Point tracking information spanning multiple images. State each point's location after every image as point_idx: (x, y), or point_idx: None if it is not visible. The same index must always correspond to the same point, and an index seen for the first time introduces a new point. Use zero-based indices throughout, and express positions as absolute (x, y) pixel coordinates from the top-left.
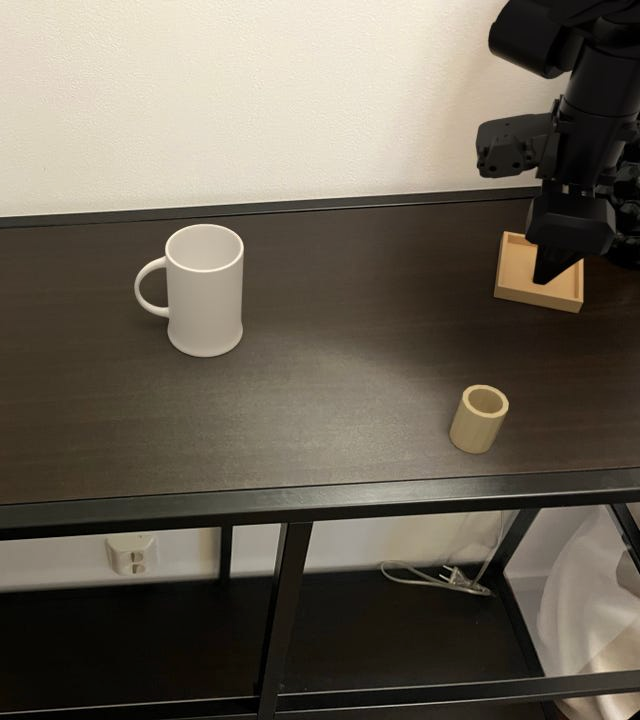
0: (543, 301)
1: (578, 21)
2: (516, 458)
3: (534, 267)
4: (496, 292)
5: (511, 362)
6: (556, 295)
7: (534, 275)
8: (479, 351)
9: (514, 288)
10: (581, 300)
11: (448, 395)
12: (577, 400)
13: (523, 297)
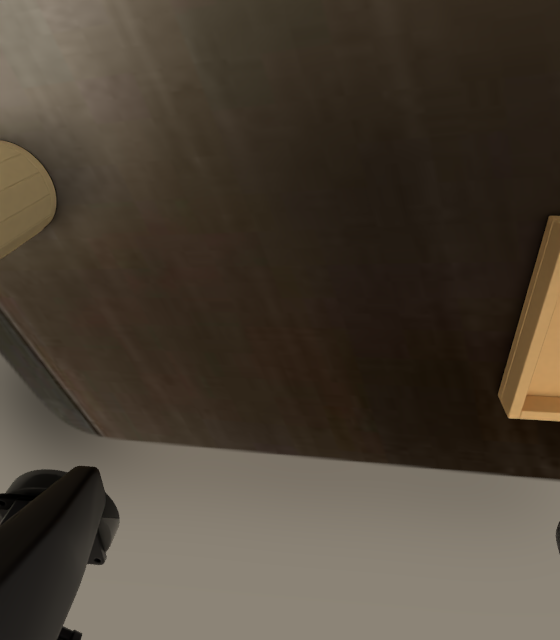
0: (521, 336)
1: None
2: (13, 279)
3: (43, 524)
4: (554, 224)
5: (288, 265)
6: (530, 370)
7: (26, 505)
8: (304, 190)
9: (556, 275)
10: (513, 416)
11: (112, 124)
12: (220, 379)
13: (535, 293)
